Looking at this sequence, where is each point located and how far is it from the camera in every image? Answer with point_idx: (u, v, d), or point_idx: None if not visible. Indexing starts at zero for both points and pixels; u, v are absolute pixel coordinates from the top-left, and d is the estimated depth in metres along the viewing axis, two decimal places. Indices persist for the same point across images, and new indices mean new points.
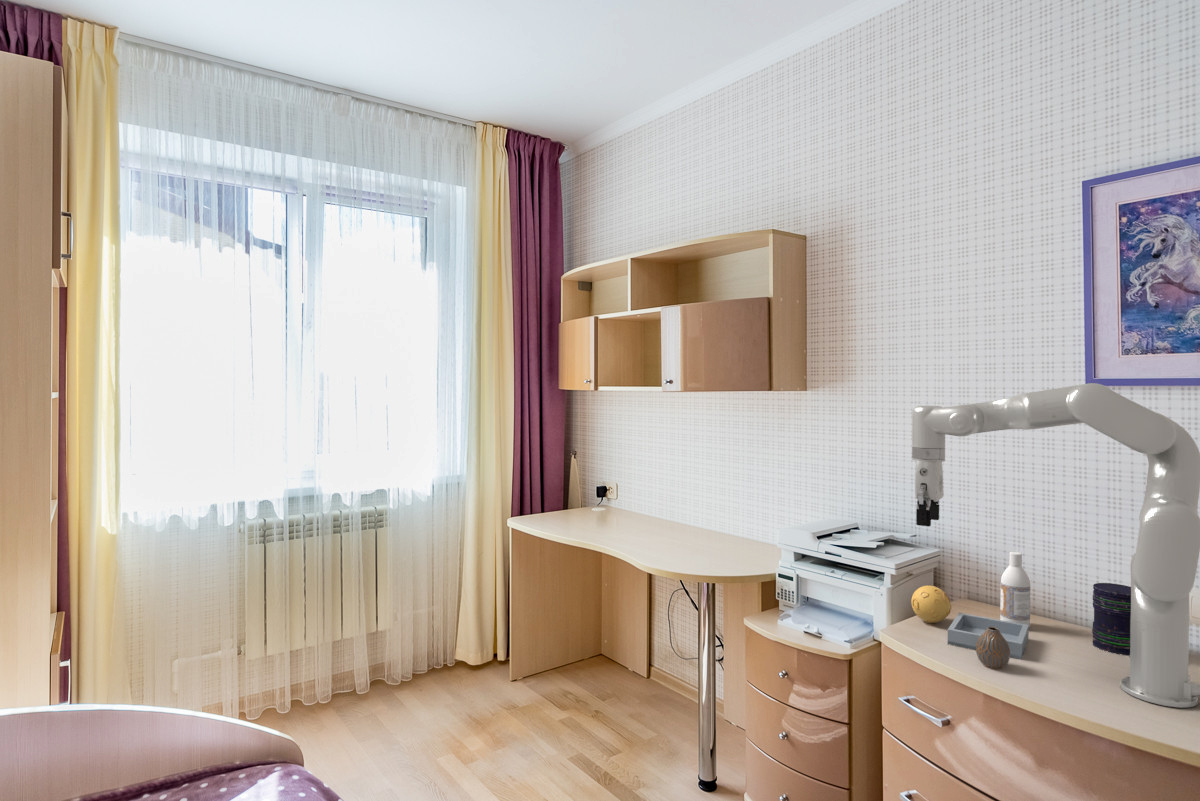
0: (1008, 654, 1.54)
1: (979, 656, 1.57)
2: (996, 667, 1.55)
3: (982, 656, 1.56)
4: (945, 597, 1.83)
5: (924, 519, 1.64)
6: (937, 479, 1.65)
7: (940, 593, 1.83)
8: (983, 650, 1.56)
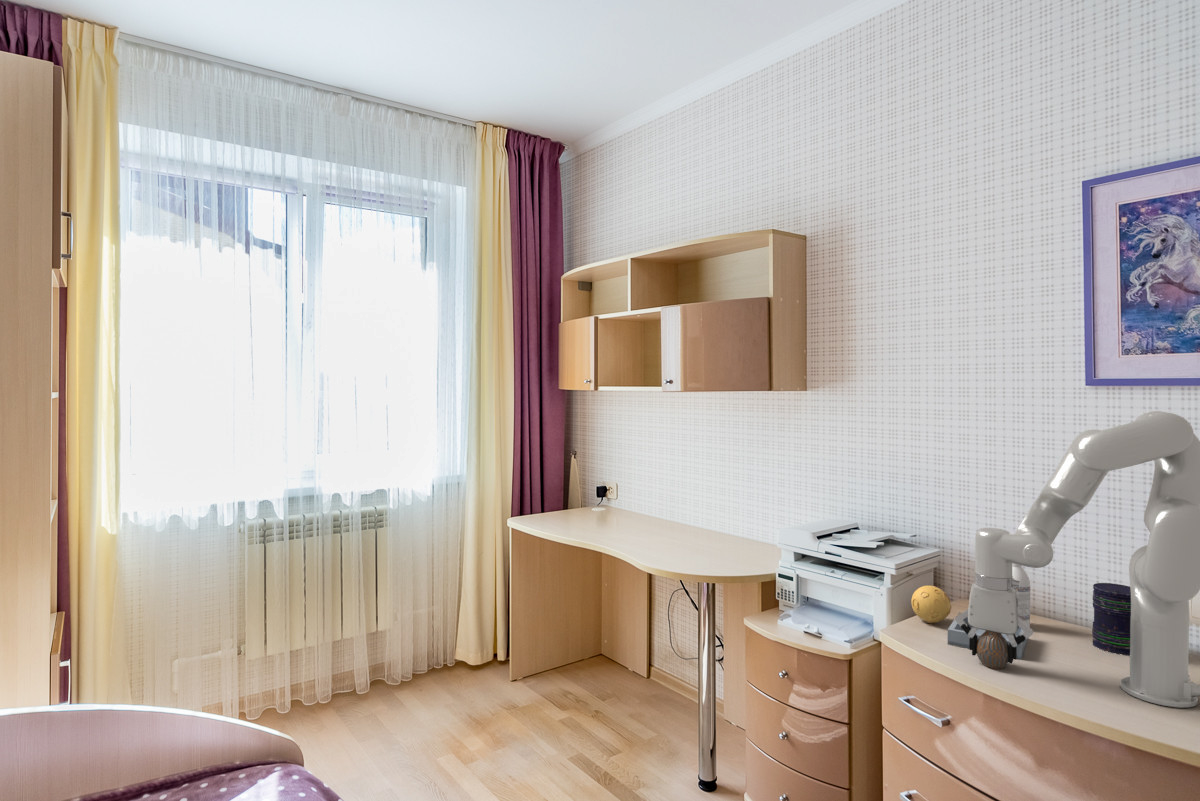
0: None
1: (979, 656, 1.57)
2: (996, 667, 1.55)
3: (982, 656, 1.56)
4: (945, 597, 1.83)
5: (1016, 654, 1.55)
6: None
7: (940, 593, 1.83)
8: (983, 650, 1.56)
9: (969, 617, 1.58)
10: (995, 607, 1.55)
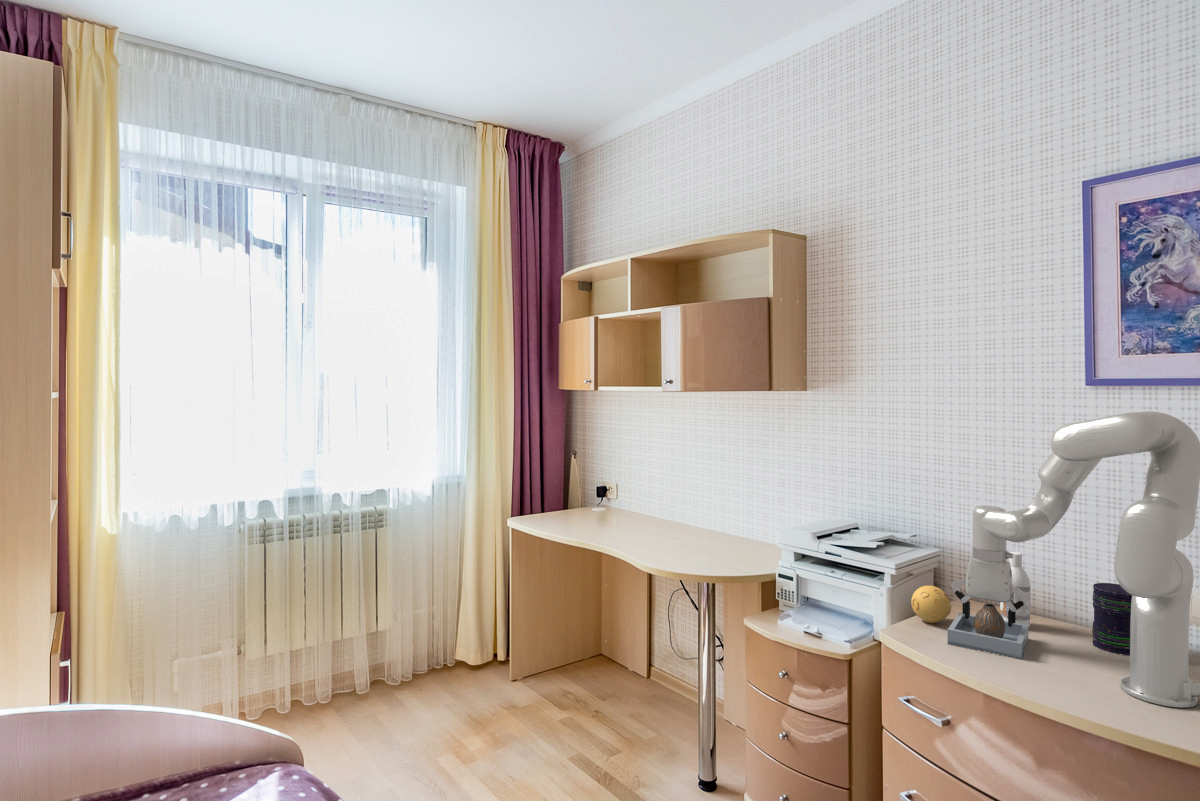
0: (1003, 628, 1.69)
1: (977, 630, 1.71)
2: None
3: (979, 630, 1.71)
4: (945, 597, 1.83)
5: (1015, 619, 1.68)
6: None
7: (940, 593, 1.83)
8: (981, 624, 1.70)
9: (967, 587, 1.73)
10: (991, 577, 1.69)
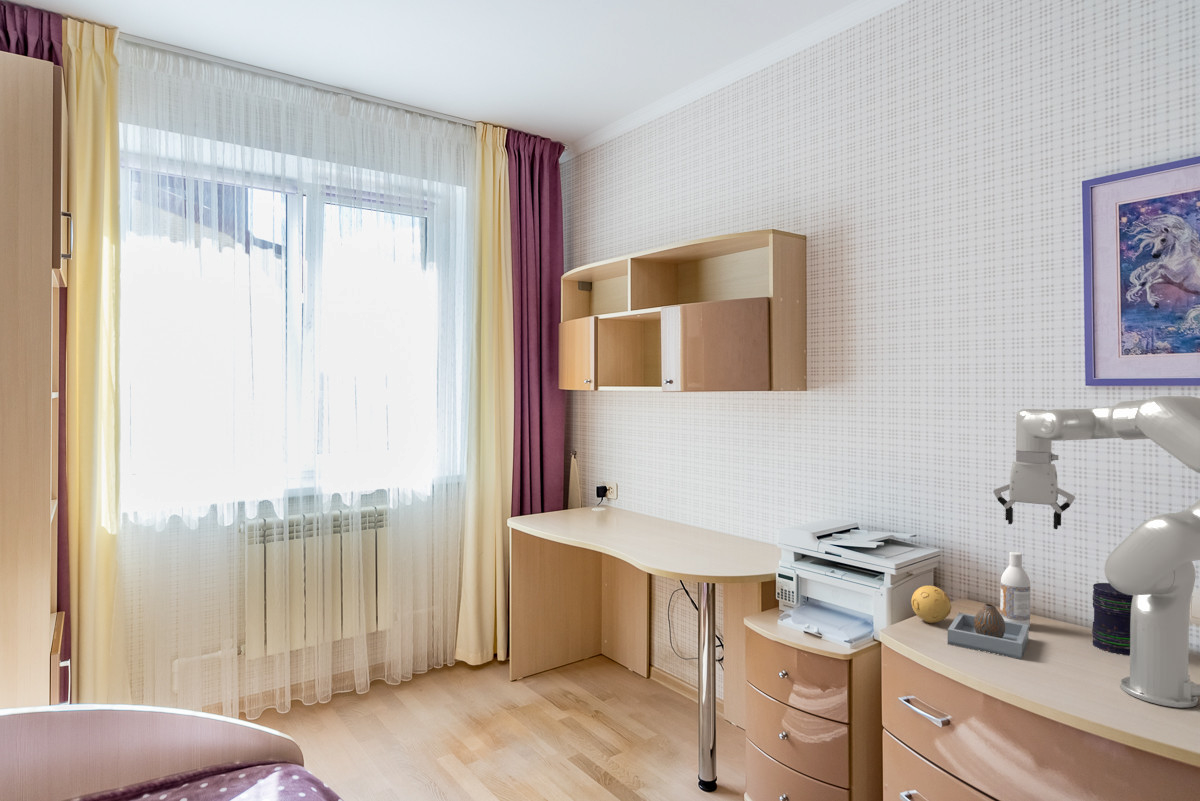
0: (1003, 628, 1.69)
1: (977, 630, 1.71)
2: None
3: (979, 630, 1.71)
4: (945, 597, 1.83)
5: (1060, 521, 1.66)
6: None
7: (940, 593, 1.83)
8: (981, 624, 1.70)
9: (1010, 492, 1.70)
10: (1036, 480, 1.66)
